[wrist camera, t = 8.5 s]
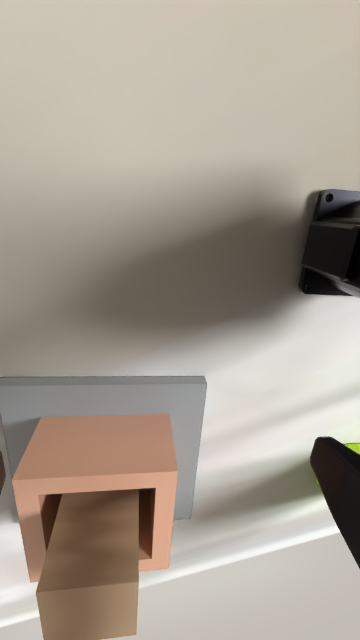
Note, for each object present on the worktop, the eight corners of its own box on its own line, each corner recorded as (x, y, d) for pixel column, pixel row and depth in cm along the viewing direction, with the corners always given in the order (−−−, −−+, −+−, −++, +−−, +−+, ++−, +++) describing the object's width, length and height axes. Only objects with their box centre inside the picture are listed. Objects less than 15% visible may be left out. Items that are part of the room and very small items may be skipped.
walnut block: (139, 438, 22) (138, 581, 14) (137, 482, 24) (136, 634, 15) (76, 441, 21) (35, 592, 13) (79, 486, 23) (45, 646, 15)
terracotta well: (204, 376, 22) (226, 434, 16) (188, 507, 27) (201, 586, 21) (2, 377, 20) (-52, 444, 14) (26, 519, 25) (-7, 610, 19)
